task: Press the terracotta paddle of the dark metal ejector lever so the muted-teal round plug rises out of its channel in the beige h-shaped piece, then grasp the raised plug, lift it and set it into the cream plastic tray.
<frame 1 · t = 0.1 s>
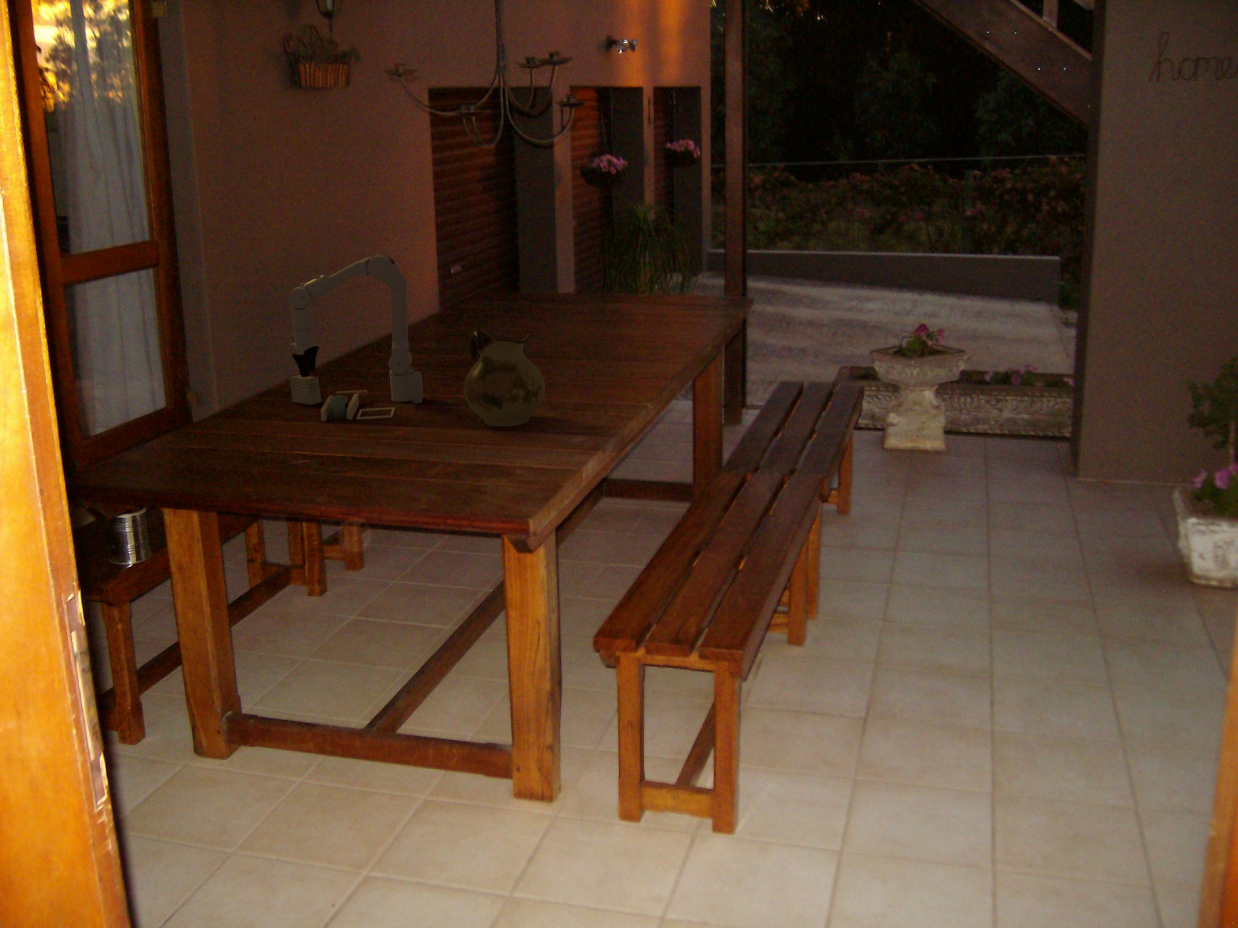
hand: (308, 373, 365), 10 cm above the table, fingers open, 7 cm apart
tray: (376, 417, 353), on the table
pitcher: (504, 422, 344), on the table
medicine box: (307, 405, 370), on the table
lever: (348, 405, 358), point 2 cm above the table, hinge at -0.1°, touching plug
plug: (338, 415, 352), point 1 cm above the table, touching lever
beige h-shaped piece: (341, 415, 356), on the table
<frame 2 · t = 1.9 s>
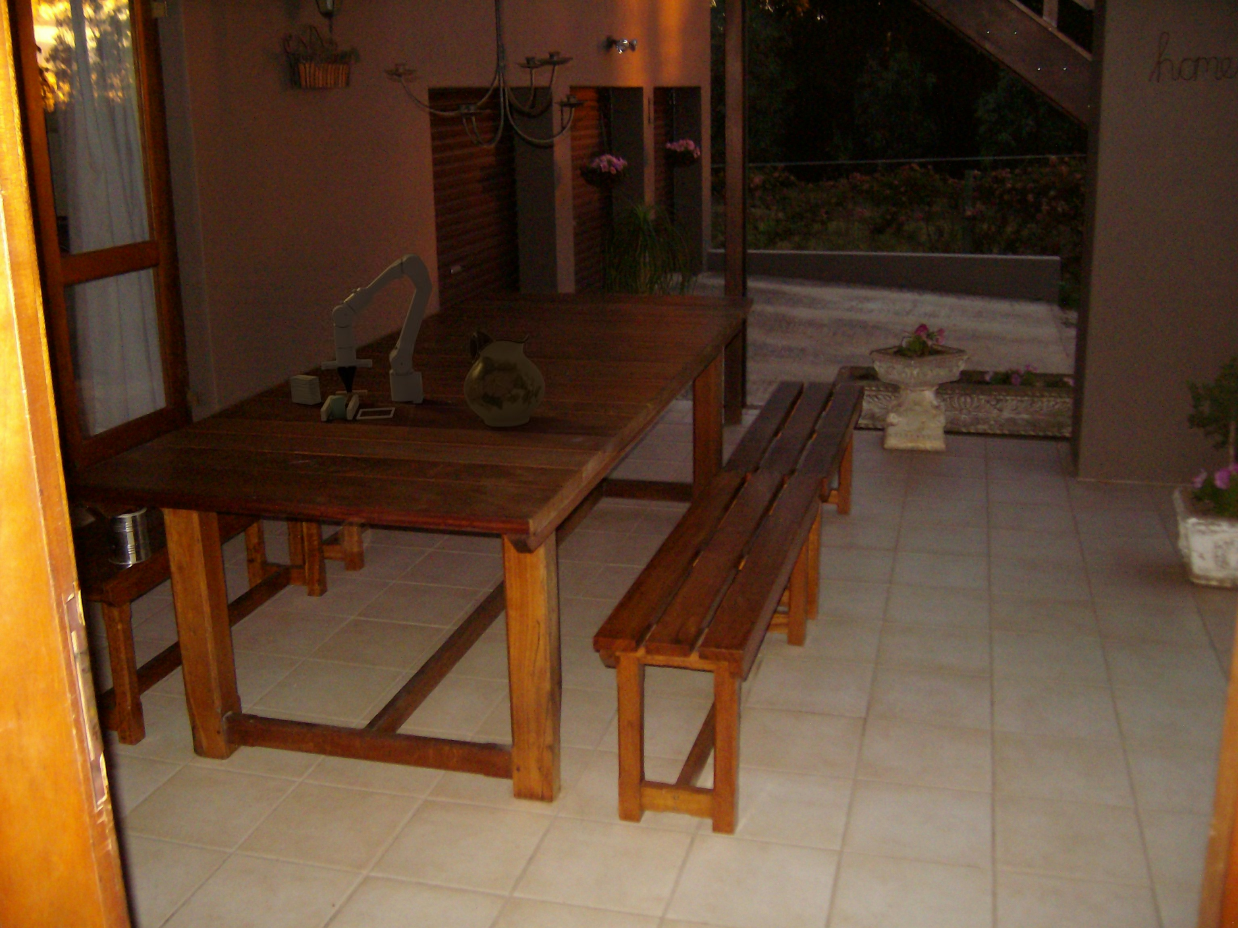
hand: (349, 391, 365), 4 cm above the table, fingers closed, pressing on lever
lever: (348, 405, 358), point 2 cm above the table, hinge at -0.1°, touching gripper, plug
everything else where it was.
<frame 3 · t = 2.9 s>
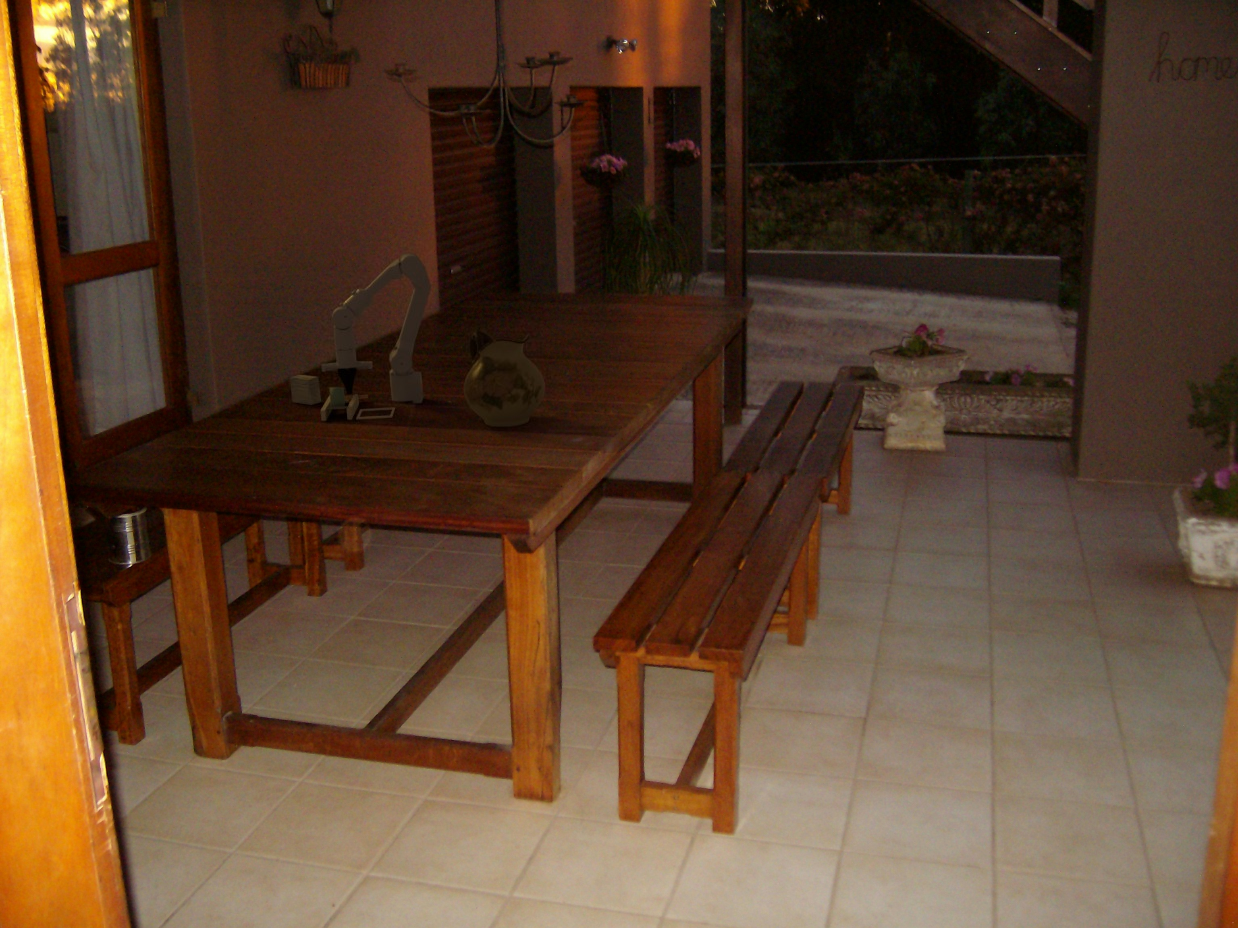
hand: (349, 393, 365), 4 cm above the table, fingers closed
lever: (347, 401, 358), point 3 cm above the table, hinge at 14.6°, touching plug
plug: (337, 406, 351), point 4 cm above the table, tilted 15°, touching lever
everything else where it was.
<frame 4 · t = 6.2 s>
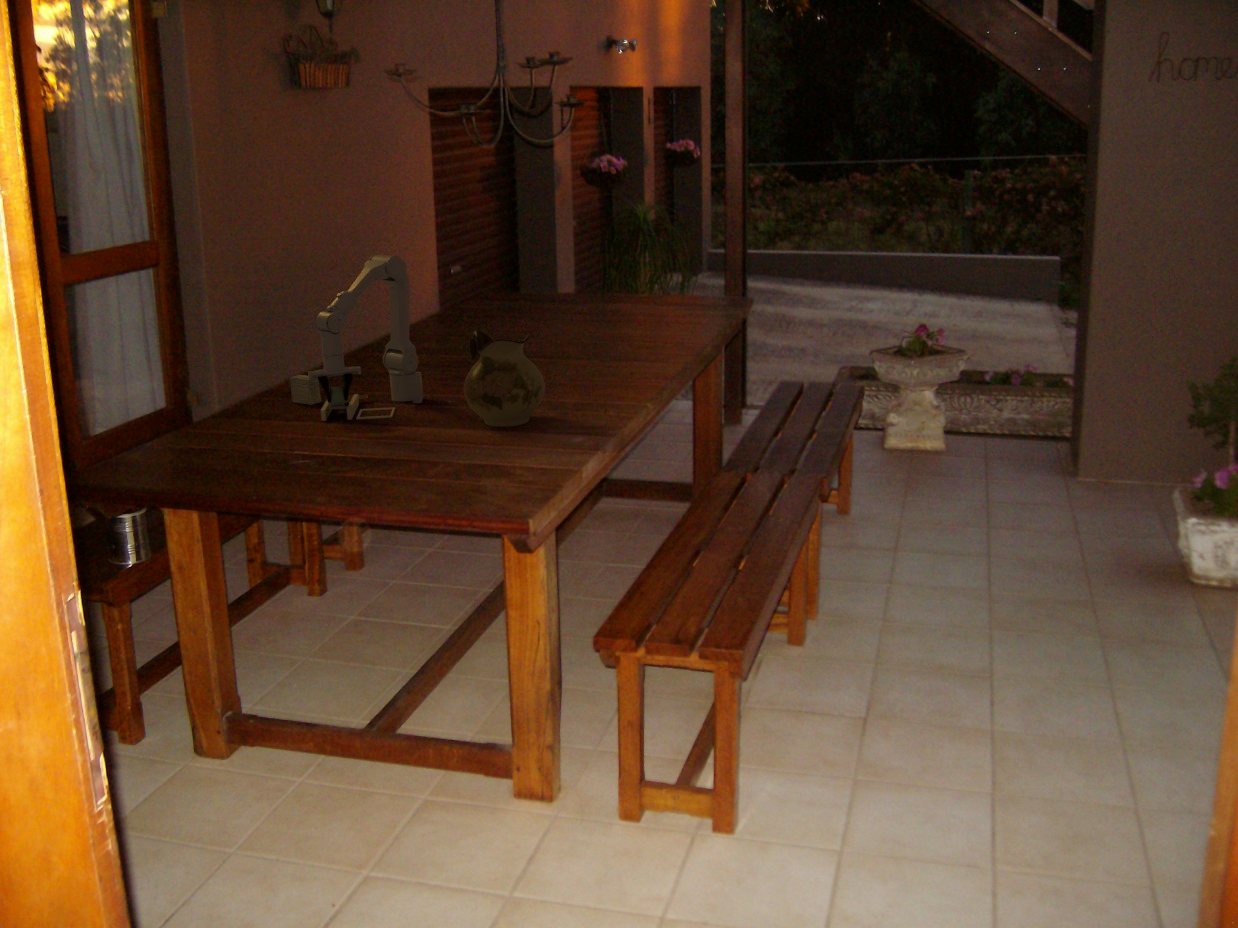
hand: (337, 401, 351), 5 cm above the table, fingers closed on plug, 4 cm apart
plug: (337, 406, 351), point 4 cm above the table, tilted 15°, touching gripper, lever
everything else where it was.
when the fingers open (4 cm above the table, at t = 9.5 s): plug drops 2 cm, resting on tray.
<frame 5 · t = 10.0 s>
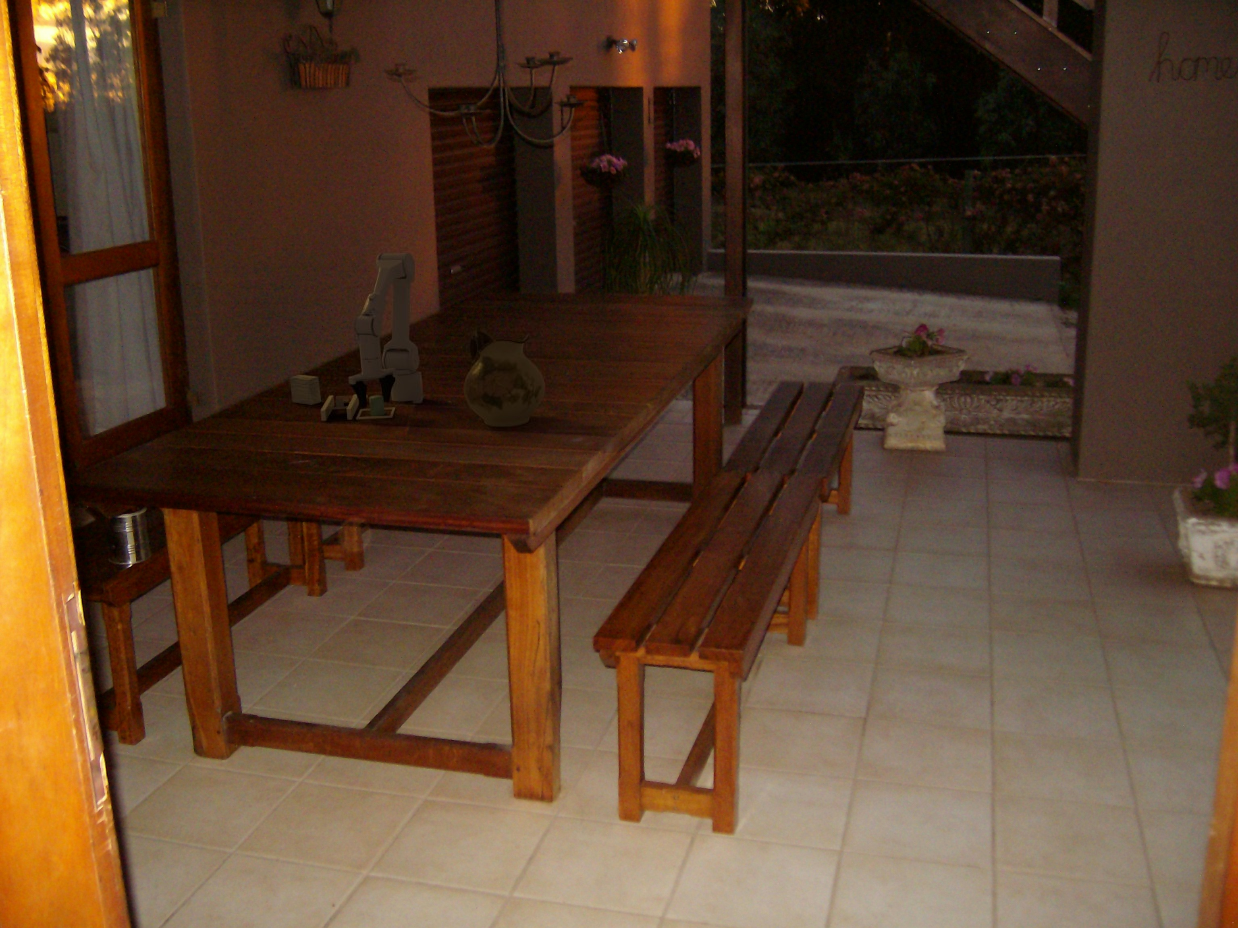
hand: (375, 404, 352), 4 cm above the table, fingers open, 7 cm apart
lever: (347, 401, 358), point 3 cm above the table, hinge at 14.4°
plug: (378, 415, 352), point 1 cm above the table, touching tray
everything else where it was.
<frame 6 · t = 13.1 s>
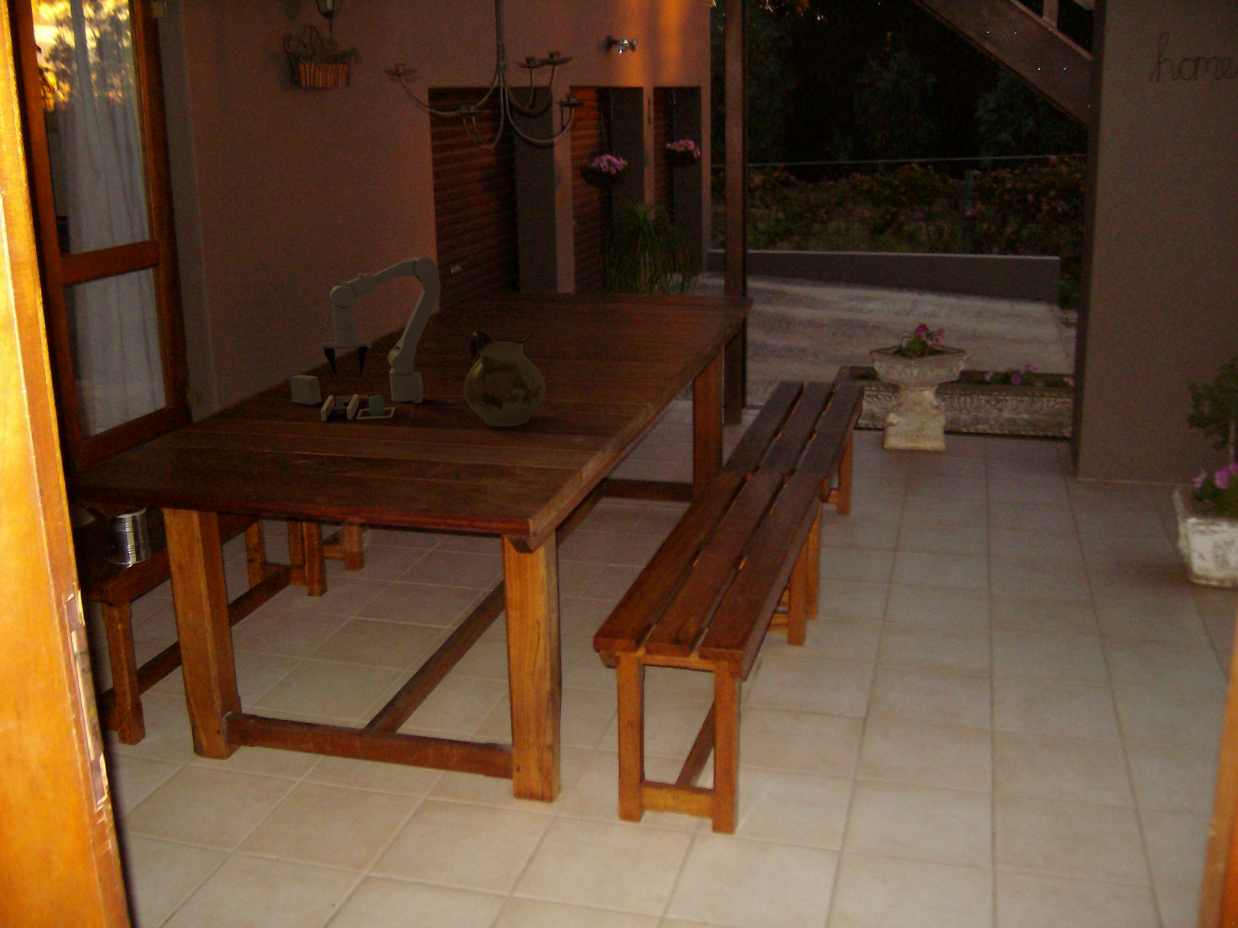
hand: (348, 373, 362), 10 cm above the table, fingers open, 7 cm apart
nothing on the table moved.
at the end: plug inside the target area on the tray (0.7 cm from its centre), point 0.6 cm above the tray's base; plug touching tray; the gripper is holding nothing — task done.
